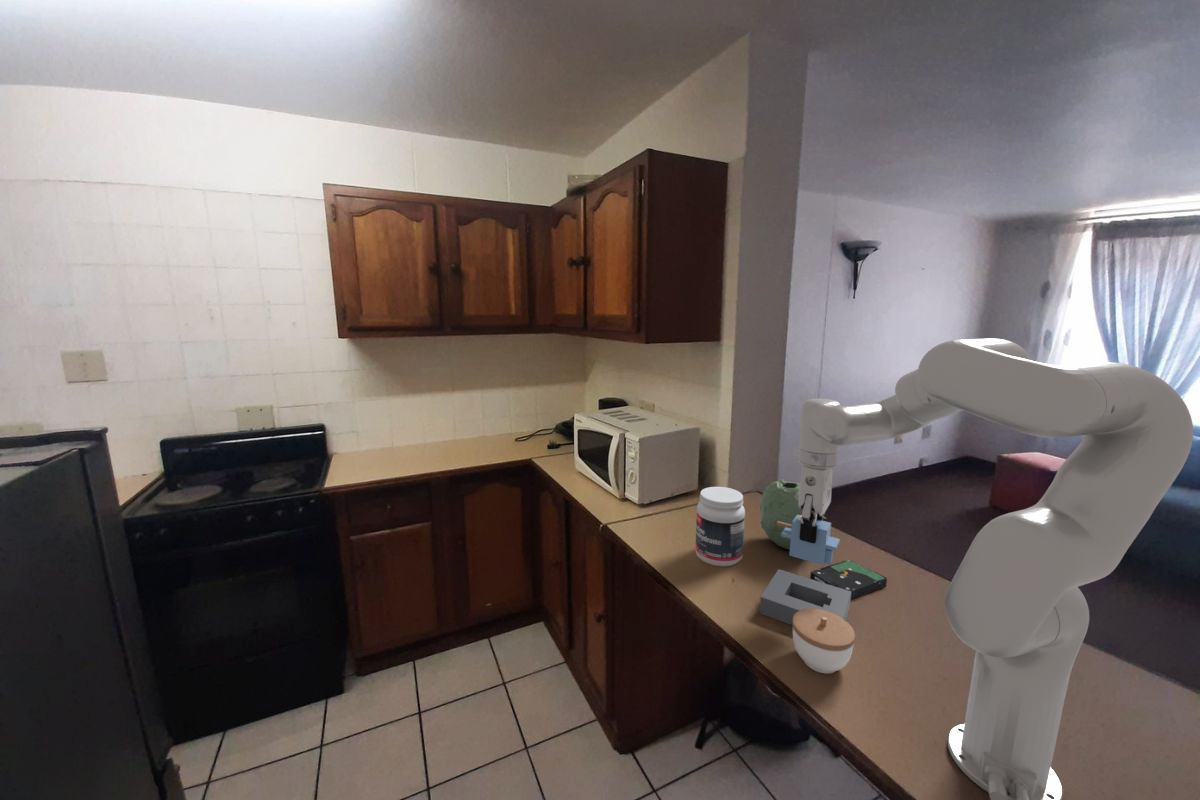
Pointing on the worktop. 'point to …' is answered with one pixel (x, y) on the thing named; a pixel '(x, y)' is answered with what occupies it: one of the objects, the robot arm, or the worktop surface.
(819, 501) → the robot arm
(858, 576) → the disk drive
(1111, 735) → the worktop surface
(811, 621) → the lidded jar
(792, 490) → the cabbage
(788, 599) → the plate
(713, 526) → the supplement tub
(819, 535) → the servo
